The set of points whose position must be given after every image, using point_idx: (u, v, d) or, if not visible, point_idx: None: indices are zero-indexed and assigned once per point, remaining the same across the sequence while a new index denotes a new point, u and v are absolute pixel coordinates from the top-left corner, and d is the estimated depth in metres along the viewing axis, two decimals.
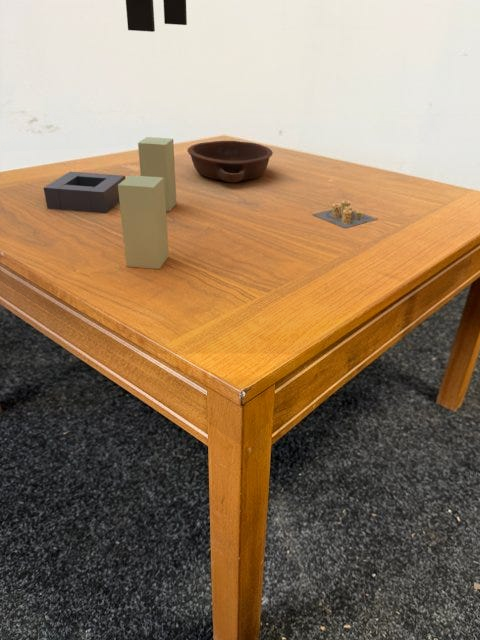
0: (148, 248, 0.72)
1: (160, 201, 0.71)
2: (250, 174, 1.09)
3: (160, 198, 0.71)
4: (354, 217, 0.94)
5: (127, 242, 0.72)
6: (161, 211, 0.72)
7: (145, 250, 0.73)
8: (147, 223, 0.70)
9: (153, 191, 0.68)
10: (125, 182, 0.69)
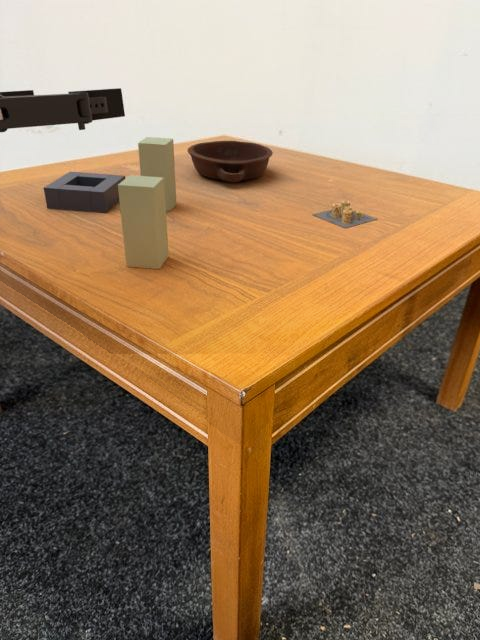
0: (148, 248, 0.72)
1: (160, 201, 0.71)
2: (250, 174, 1.09)
3: (160, 198, 0.71)
4: (354, 217, 0.94)
5: (127, 242, 0.72)
6: (161, 211, 0.72)
7: (145, 250, 0.73)
8: (147, 223, 0.70)
9: (153, 191, 0.68)
10: (125, 182, 0.69)
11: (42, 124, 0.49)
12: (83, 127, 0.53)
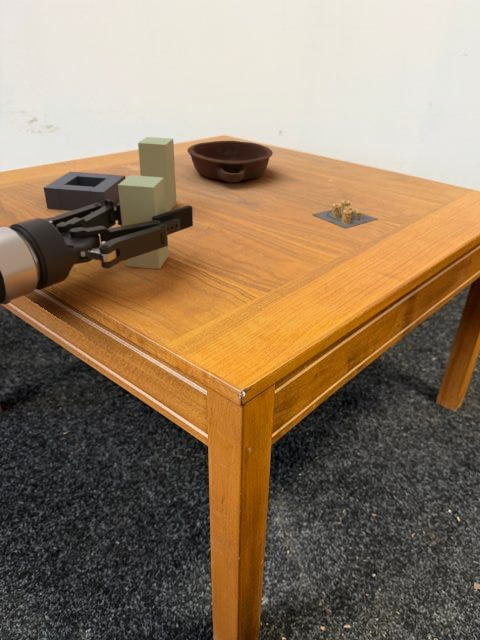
0: None
1: (160, 201, 0.71)
2: (250, 174, 1.09)
3: (160, 198, 0.71)
4: (354, 217, 0.94)
5: None
6: (161, 211, 0.72)
7: None
8: None
9: (153, 191, 0.68)
10: (125, 182, 0.69)
11: (139, 254, 0.65)
12: None
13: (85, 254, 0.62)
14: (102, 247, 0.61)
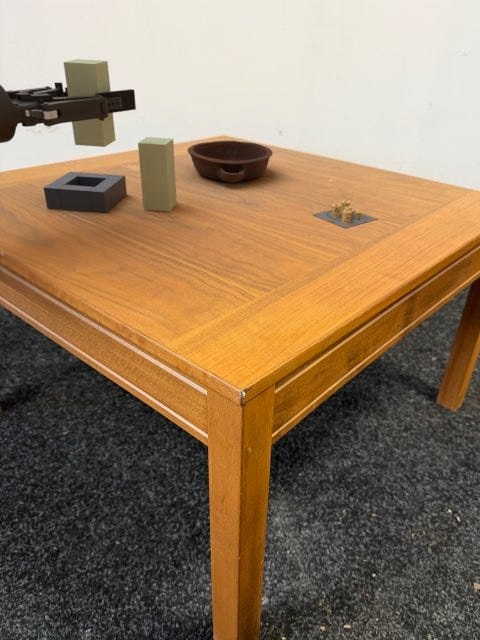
0: (93, 126, 0.80)
1: (103, 81, 0.79)
2: (250, 174, 1.09)
3: (103, 78, 0.79)
4: (354, 217, 0.94)
5: None
6: None
7: (91, 128, 0.80)
8: None
9: (95, 68, 0.76)
10: (71, 61, 0.77)
11: (80, 119, 0.73)
12: (103, 119, 0.78)
13: (29, 113, 0.70)
14: (43, 104, 0.69)
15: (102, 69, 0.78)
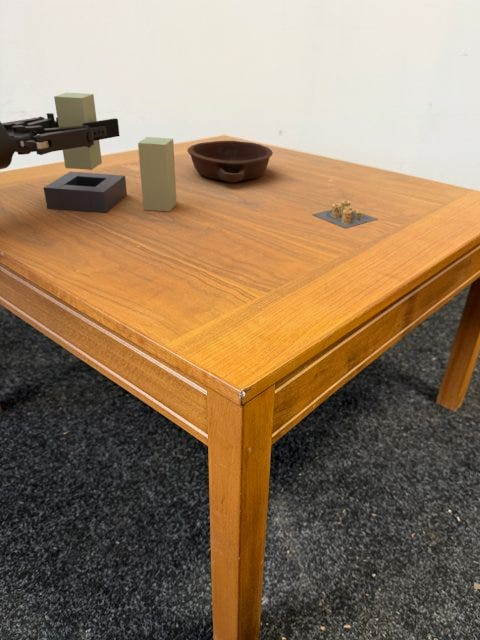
0: (81, 151, 0.90)
1: (89, 112, 0.89)
2: (250, 174, 1.09)
3: (90, 110, 0.89)
4: (354, 217, 0.94)
5: None
6: (91, 121, 0.90)
7: (79, 153, 0.90)
8: None
9: (82, 101, 0.86)
10: (60, 95, 0.87)
11: (68, 148, 0.83)
12: (90, 146, 0.87)
13: (24, 144, 0.80)
14: (36, 136, 0.78)
15: (88, 102, 0.88)
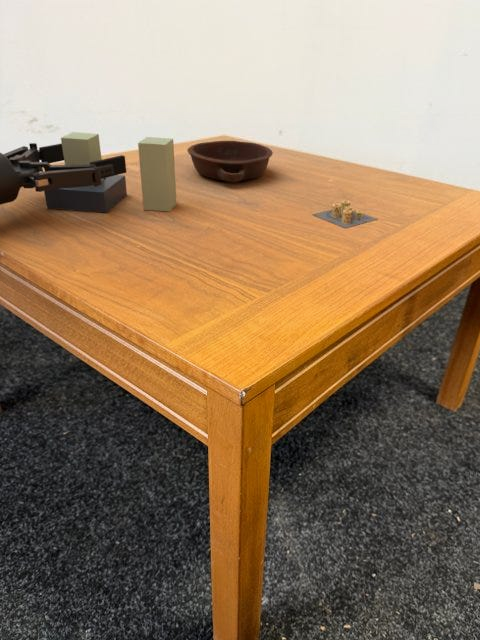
0: None
1: (95, 151, 0.92)
2: (250, 174, 1.09)
3: (95, 149, 0.92)
4: (354, 217, 0.94)
5: None
6: (96, 160, 0.93)
7: None
8: None
9: (88, 142, 0.89)
10: (67, 136, 0.90)
11: (71, 186, 0.84)
12: (96, 185, 0.87)
13: None
14: (34, 174, 0.80)
15: (94, 142, 0.91)
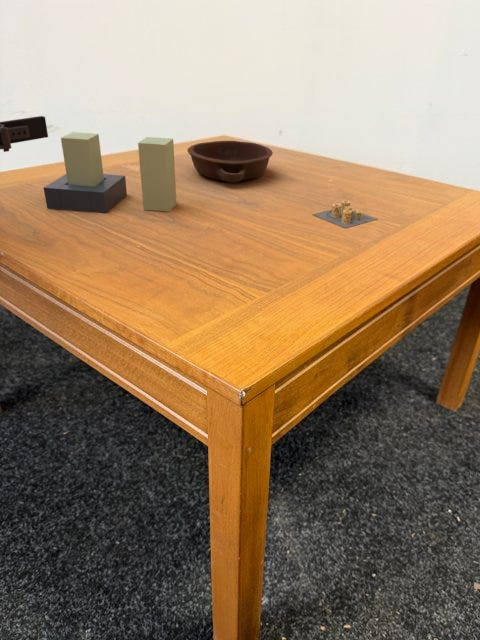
0: None
1: (95, 151, 0.92)
2: (250, 174, 1.09)
3: (95, 149, 0.92)
4: (354, 217, 0.94)
5: (70, 184, 0.93)
6: (96, 160, 0.93)
7: None
8: (85, 168, 0.91)
9: (88, 142, 0.89)
10: (67, 136, 0.90)
11: None
12: (7, 149, 0.72)
13: None
14: None
15: (94, 142, 0.91)
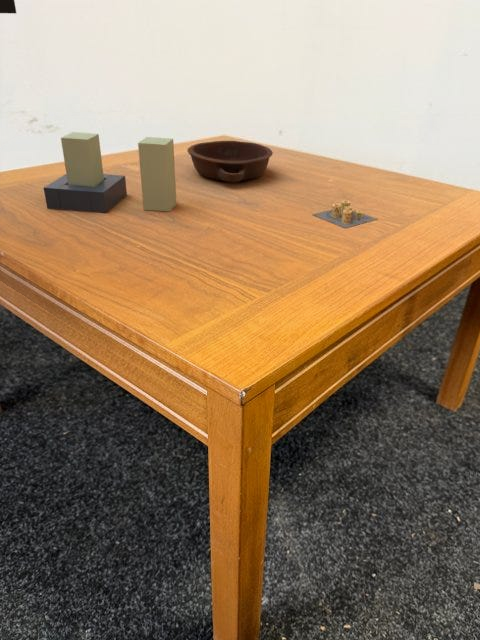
0: None
1: (95, 151, 0.92)
2: (250, 174, 1.09)
3: (95, 149, 0.92)
4: (354, 217, 0.94)
5: (70, 184, 0.93)
6: (96, 160, 0.93)
7: None
8: (85, 168, 0.91)
9: (88, 142, 0.89)
10: (67, 136, 0.90)
11: None
12: None
13: None
14: None
15: (94, 142, 0.91)
